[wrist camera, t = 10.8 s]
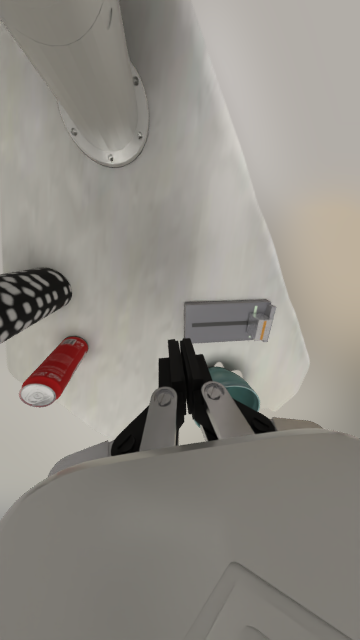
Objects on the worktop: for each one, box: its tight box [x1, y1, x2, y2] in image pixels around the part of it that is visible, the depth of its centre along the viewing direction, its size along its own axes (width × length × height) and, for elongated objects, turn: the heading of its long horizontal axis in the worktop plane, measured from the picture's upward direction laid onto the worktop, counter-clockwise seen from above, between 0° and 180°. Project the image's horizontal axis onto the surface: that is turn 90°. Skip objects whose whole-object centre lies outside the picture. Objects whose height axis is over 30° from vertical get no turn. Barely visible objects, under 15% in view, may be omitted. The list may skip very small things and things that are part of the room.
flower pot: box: [194, 367, 260, 428], centre depth 43 cm, size 16×16×11 cm
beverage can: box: [19, 337, 88, 407], centre depth 33 cm, size 6×6×15 cm
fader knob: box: [246, 313, 272, 341], centre depth 37 cm, size 5×3×4 cm, turn 0°
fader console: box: [184, 300, 276, 343], centre depth 39 cm, size 10×20×4 cm, turn 90°
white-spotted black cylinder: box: [0, 268, 72, 344], centre depth 24 cm, size 8×8×20 cm
